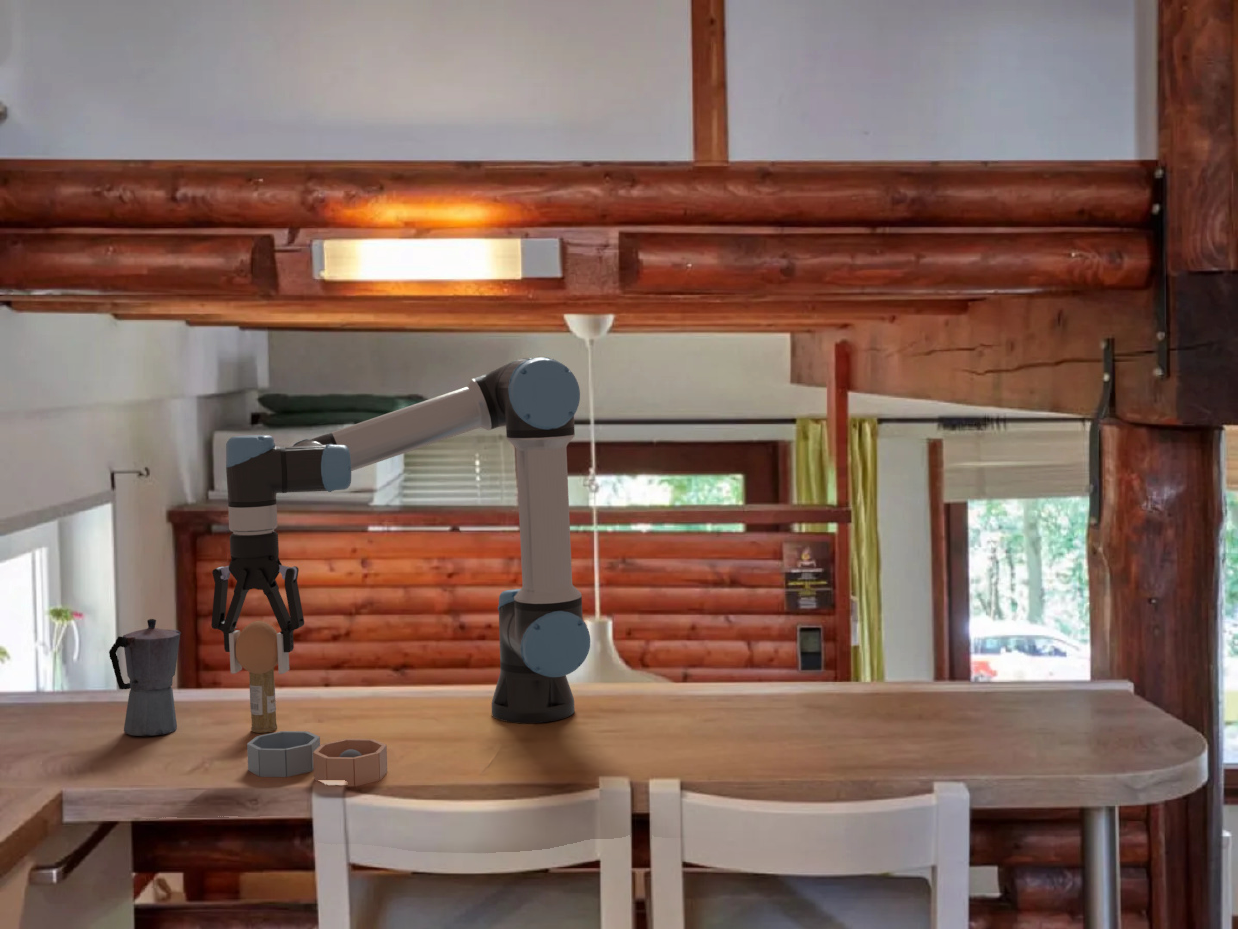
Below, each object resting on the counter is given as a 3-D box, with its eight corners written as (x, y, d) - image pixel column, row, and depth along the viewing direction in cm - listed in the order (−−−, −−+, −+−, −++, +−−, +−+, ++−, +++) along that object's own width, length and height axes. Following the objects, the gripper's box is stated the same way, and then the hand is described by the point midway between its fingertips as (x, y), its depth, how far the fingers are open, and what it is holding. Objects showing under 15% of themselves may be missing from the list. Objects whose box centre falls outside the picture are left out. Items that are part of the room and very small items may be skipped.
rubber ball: (367, 771, 208) (366, 746, 207) (359, 779, 204) (359, 754, 203) (342, 771, 208) (341, 746, 208) (334, 779, 204) (333, 753, 204)
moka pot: (201, 723, 240) (197, 614, 238) (138, 747, 226) (132, 630, 225) (161, 718, 244) (156, 610, 242) (96, 741, 230) (90, 626, 229)
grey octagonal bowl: (327, 761, 216) (326, 731, 215) (305, 782, 205) (304, 750, 205) (264, 761, 217) (263, 730, 216) (240, 781, 206) (239, 749, 206)
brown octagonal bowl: (392, 770, 211) (391, 739, 210) (374, 791, 200) (373, 759, 200) (329, 769, 212) (327, 738, 211) (307, 790, 201) (306, 758, 201)
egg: (239, 680, 211) (236, 627, 210) (234, 671, 218) (231, 619, 217) (286, 675, 214) (284, 623, 213) (280, 666, 220) (277, 615, 220)
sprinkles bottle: (280, 731, 234) (278, 655, 233) (255, 735, 232) (252, 659, 231) (272, 725, 238) (269, 651, 237) (247, 729, 236) (244, 654, 235)
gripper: (322, 528, 216) (328, 666, 218) (203, 528, 219) (210, 666, 221) (305, 534, 209) (312, 677, 210) (183, 535, 211) (190, 676, 213)
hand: (260, 671), depth 216 cm, fingers closed on egg, 7 cm apart
